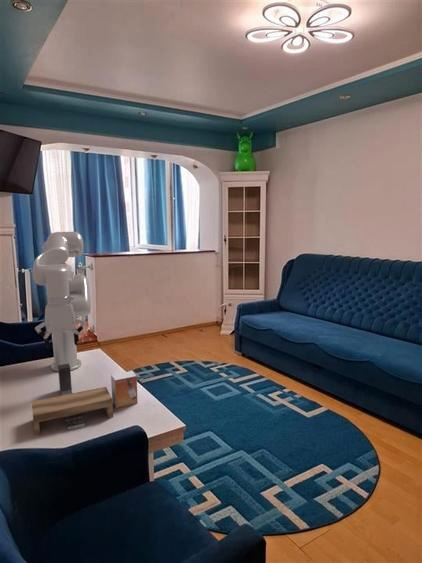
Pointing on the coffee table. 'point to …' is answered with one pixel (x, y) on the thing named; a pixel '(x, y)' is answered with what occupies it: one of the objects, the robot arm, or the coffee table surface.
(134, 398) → the small box
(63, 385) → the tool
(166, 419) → the coffee table surface
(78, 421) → the token
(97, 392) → the bench
